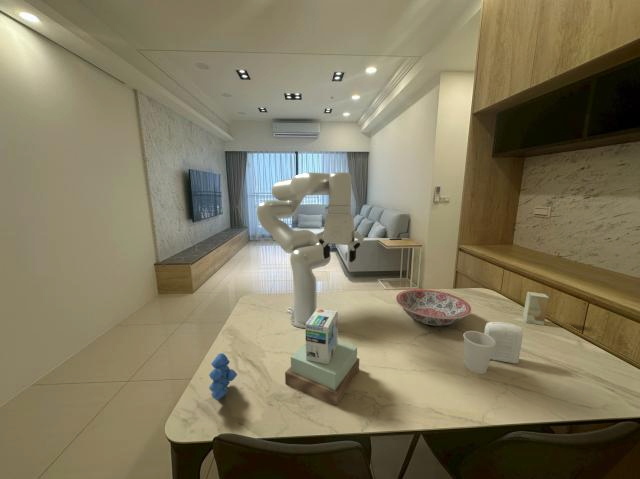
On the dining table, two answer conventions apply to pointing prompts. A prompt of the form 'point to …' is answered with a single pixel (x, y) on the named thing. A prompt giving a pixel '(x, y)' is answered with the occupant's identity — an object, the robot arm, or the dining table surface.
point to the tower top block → (326, 365)
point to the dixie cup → (477, 351)
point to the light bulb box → (321, 335)
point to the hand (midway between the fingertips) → (339, 259)
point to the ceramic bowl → (433, 306)
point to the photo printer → (505, 341)
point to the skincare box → (535, 308)
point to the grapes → (221, 376)
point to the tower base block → (318, 389)
